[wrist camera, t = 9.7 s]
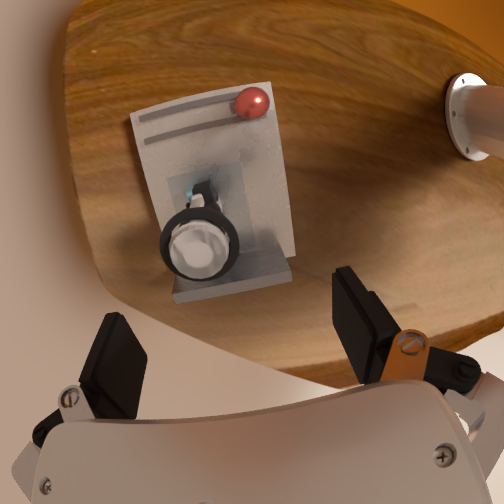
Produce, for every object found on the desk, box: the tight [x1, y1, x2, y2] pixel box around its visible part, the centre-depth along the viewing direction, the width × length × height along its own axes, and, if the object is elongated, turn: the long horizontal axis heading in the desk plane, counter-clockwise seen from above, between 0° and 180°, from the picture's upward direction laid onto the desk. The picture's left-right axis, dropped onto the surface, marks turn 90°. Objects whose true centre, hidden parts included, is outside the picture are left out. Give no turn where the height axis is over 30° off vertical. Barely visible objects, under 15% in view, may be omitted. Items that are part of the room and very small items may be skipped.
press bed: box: [130, 82, 296, 304], centre depth 24 cm, size 13×18×6 cm
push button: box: [160, 180, 240, 282], centre depth 22 cm, size 7×5×10 cm
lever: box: [229, 87, 270, 118], centre depth 19 cm, size 3×2×5 cm
